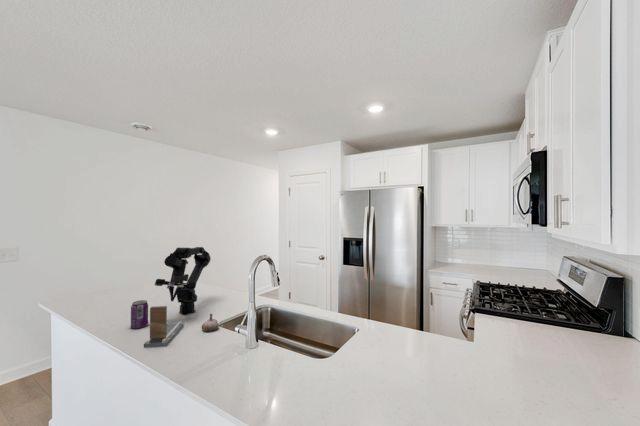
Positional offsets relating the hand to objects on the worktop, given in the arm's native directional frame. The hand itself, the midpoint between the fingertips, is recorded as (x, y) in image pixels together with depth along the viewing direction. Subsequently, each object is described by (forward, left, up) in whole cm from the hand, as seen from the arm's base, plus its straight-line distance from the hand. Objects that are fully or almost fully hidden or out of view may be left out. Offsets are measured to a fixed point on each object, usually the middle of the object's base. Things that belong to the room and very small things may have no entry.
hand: (171, 301), depth 137 cm
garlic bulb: (-8, +22, -12) cm, 26 cm away
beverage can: (+11, -9, -11) cm, 18 cm away
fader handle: (+14, +18, -10) cm, 24 cm away
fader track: (+8, +12, -11) cm, 19 cm away
